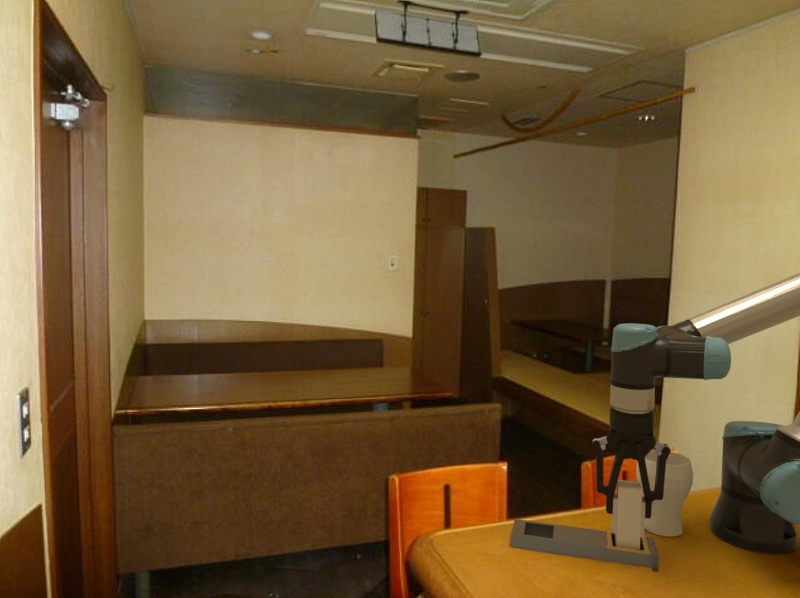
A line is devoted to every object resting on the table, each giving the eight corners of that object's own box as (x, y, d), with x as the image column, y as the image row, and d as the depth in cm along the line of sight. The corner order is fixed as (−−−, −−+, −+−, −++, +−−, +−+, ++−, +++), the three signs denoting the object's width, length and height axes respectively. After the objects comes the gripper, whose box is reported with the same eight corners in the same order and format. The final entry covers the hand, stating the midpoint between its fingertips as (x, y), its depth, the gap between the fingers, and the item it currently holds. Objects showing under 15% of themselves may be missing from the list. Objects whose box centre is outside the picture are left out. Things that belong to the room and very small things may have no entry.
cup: (697, 543, 114) (700, 468, 113) (640, 537, 116) (642, 464, 115) (682, 519, 124) (685, 450, 123) (630, 514, 126) (632, 447, 125)
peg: (637, 543, 109) (639, 482, 108) (639, 554, 106) (641, 490, 105) (614, 540, 111) (616, 479, 110) (616, 550, 107) (618, 487, 106)
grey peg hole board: (653, 552, 110) (653, 536, 110) (658, 571, 103) (658, 554, 103) (514, 533, 118) (514, 517, 117) (510, 549, 111) (511, 533, 111)
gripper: (679, 407, 107) (674, 529, 109) (582, 400, 112) (579, 517, 114) (686, 417, 100) (681, 548, 102) (583, 409, 105) (579, 534, 107)
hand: (627, 531), depth 108 cm, fingers closed on peg, 4 cm apart
